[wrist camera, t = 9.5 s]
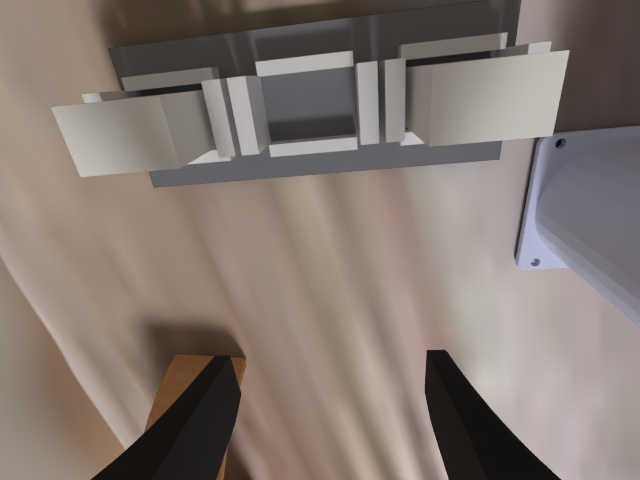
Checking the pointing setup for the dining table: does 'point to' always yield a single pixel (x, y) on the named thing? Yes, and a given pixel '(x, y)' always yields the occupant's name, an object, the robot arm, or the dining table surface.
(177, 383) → the arch
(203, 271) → the dining table surface
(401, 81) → the fuse block
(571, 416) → the dining table surface
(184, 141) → the block
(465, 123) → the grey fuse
